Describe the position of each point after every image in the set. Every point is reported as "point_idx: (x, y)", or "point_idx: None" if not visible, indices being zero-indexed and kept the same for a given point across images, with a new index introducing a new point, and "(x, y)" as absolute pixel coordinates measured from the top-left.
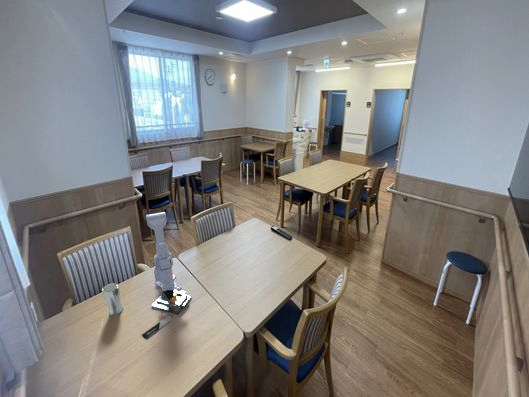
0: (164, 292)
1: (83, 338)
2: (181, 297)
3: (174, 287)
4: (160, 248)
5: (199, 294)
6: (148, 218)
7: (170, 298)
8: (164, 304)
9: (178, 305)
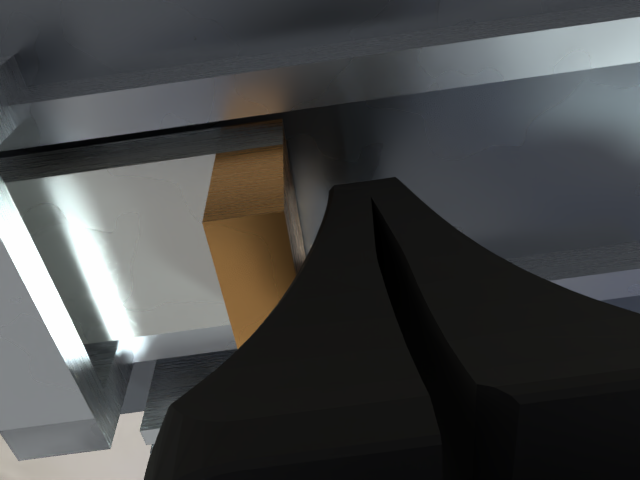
0: (538, 344)
1: None
2: (58, 364)
3: None
4: None
5: (40, 475)
6: None
7: (257, 218)
8: (422, 25)
9: None
